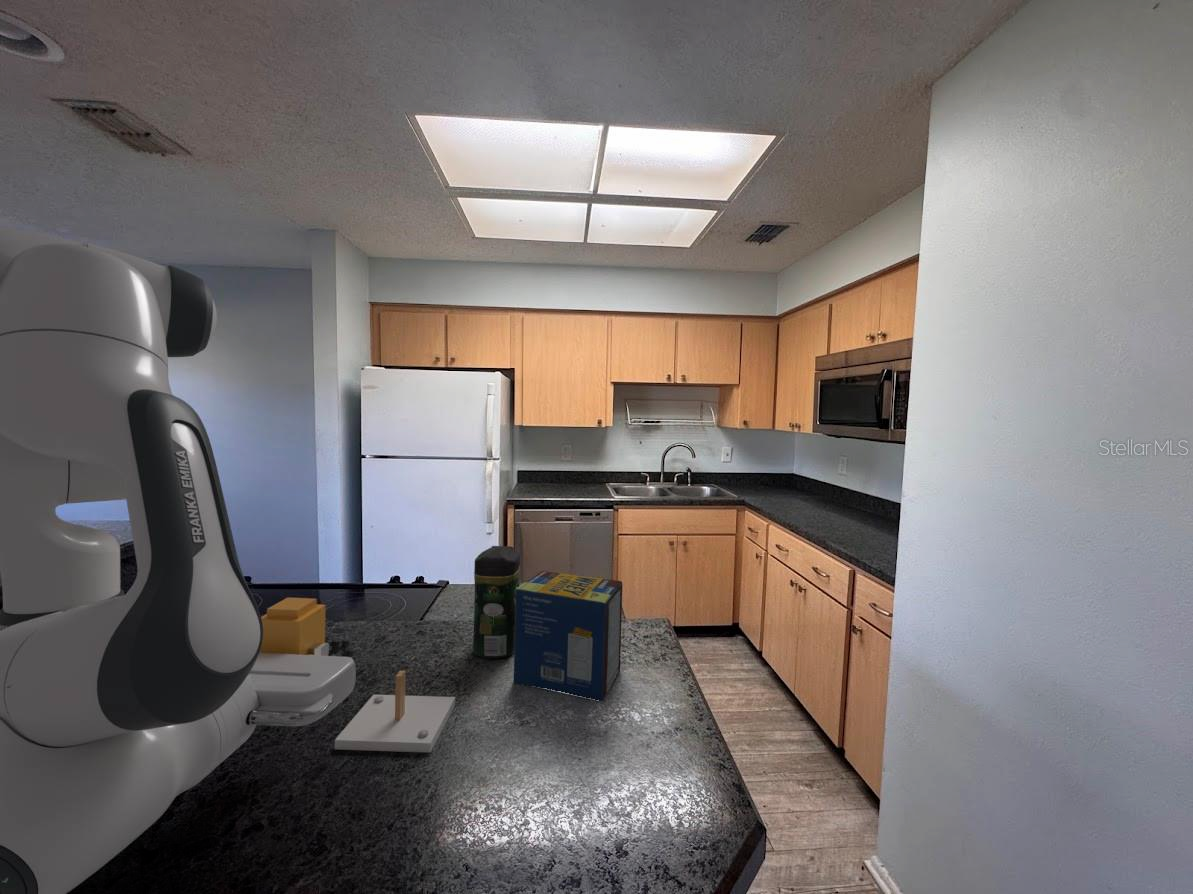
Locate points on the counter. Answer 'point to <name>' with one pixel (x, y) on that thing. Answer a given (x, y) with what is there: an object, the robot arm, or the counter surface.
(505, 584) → the coffee jar
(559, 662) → the protein box
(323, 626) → the tall orange stepped box
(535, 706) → the counter surface
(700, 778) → the counter surface
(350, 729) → the plate
